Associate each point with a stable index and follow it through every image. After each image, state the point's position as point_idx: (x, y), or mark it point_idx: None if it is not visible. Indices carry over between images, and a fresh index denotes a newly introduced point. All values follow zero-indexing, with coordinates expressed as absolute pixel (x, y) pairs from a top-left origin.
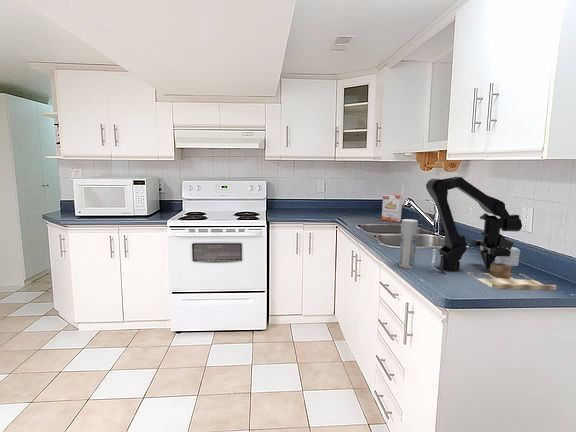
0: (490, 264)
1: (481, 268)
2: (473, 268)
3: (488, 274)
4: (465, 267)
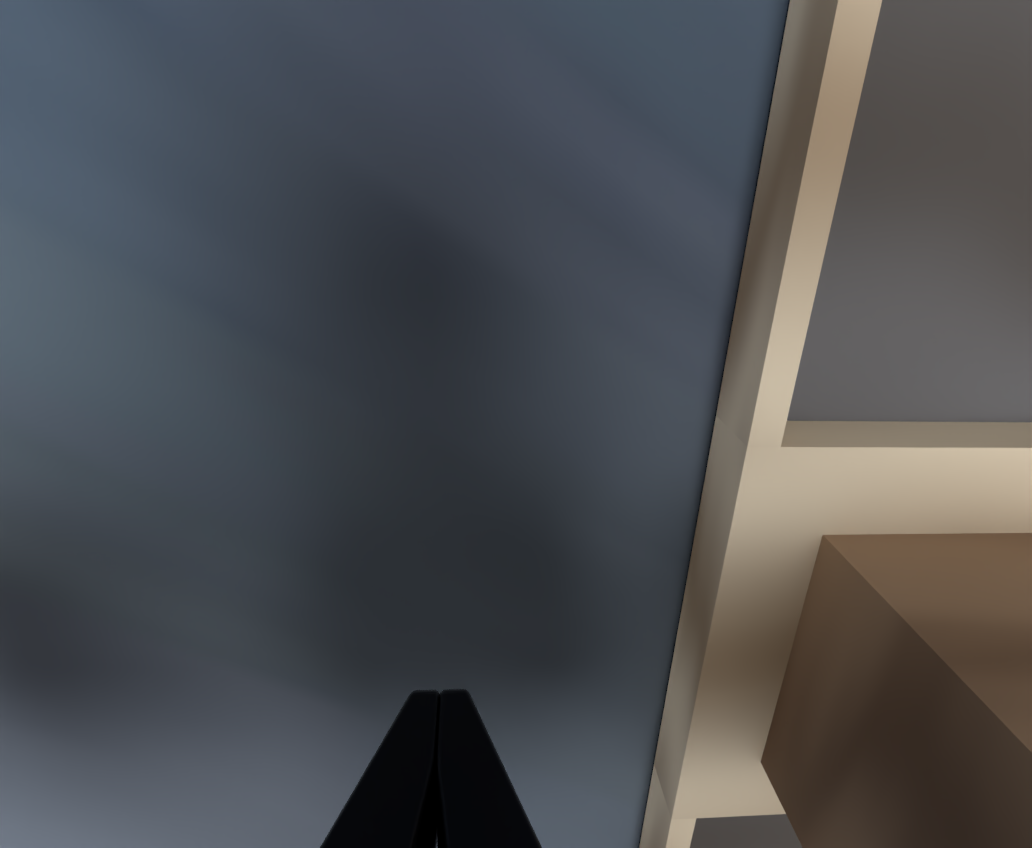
0: (512, 808)
1: (17, 557)
2: (89, 719)
3: (770, 784)
4: (55, 823)
